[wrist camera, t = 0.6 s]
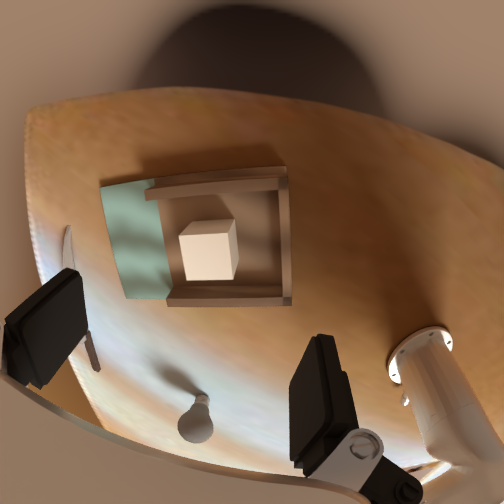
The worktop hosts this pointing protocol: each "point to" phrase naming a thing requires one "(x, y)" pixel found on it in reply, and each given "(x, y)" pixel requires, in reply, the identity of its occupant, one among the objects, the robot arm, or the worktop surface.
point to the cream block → (210, 250)
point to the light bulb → (196, 421)
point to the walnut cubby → (201, 209)
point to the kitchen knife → (69, 263)
